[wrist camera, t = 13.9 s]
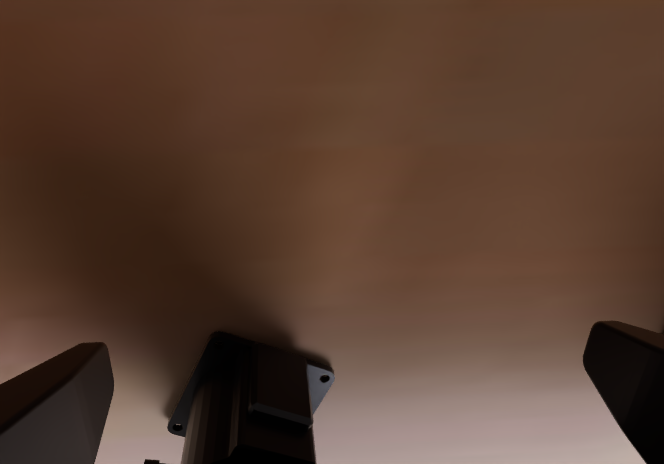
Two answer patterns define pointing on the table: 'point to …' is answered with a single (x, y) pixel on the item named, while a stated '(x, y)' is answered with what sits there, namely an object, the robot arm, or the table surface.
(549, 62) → the table surface
